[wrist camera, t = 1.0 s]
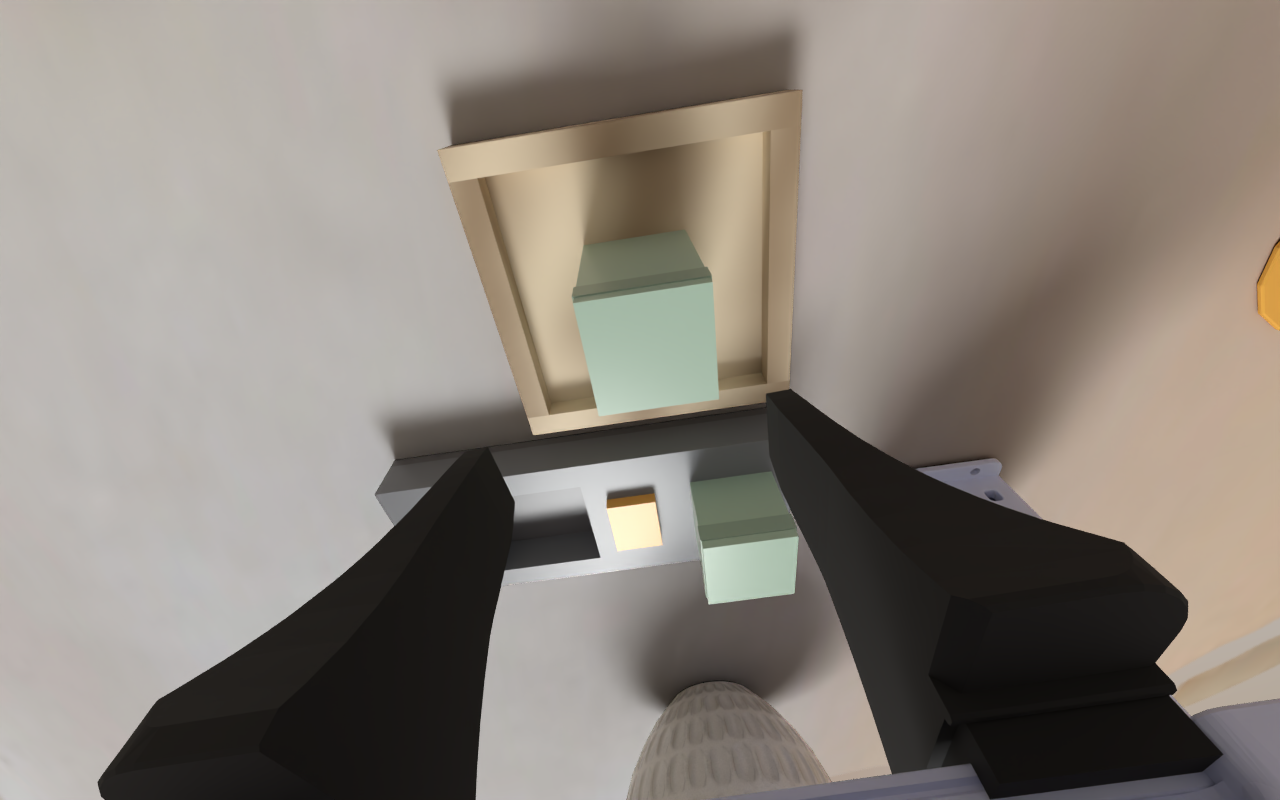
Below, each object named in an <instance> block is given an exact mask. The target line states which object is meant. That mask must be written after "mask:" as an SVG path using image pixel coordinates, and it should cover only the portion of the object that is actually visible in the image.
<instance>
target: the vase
mask: <svg viewBox="0 0 1280 800" xmlns="http://www.w3.org/2000/svg"><path fill="white" fill-rule="evenodd" d="M830 782H832V781H831V780H830V778H829V776H828V775H827V773H826V772H825V770H824V768H823V767H822V765H821V763H820V762H819V760H818V759H817V757H816V755H815V754H814V752H813V750H812V749H811V748H810V747H809V746H808V744H807V743H806V742H805V741H804V740H803V738H802V737H801V736H800V735H799V734H798V733H797V731H796V730H795V729H794V728H793V727H792V725H790V724H789V723H788V722H787V721H786V720H785V719H784V718H783V717H782V716H781V715H780V714H779V713H778V712H777V711H776V710H775V709H774V708H773V707H772V706H771V705H769V704H768V703H767V702H765V701H764V700H763V699H761V698H760V697H759V696H757V695H756V694H755V693H753V692H752V691H750V690H749V689H747V688H746V687H744V686H742V685H740V684H737V683H733V682H724V681H714V682H706V683H701V684H697V685H694V686H691V687H689V688H687V689H685V690H683V691H682V692H680V693H679V694H678V695H677V696H676V697H675V698H674V699H673V701H672V702H671V703H670V704H669V706H668V707H667V708H666V710H665V711H664V712H663V714H662V715H661V717H660V718H659V719H658V721H657V722H656V724H655V726H654V728H653V730H652V731H651V733H650V735H649V737H648V739H647V741H646V743H645V745H644V747H643V750H642V752H641V755H640V757H639V760H638V762H637V765H636V767H635V769H634V772H633V774H632V778H631V783H630V787H629V791H628V795H627V799H626V800H704V799H712V798H719V797H727V796H734V795H742V794H749V793H756V792H764V791H771V790H779V789H786V788H793V787H801V786H808V785H816V784H823V783H830Z"/></svg>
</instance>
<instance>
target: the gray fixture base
mask: <svg viewBox="0 0 1280 800" xmlns="http://www.w3.org/2000/svg"><path fill="white" fill-rule="evenodd" d="M488 448H489V450H490V452H491V454H492V456H493V458H494V460H495V462H496V464H497V466H498V468H499V470H500V472H501V474H502V476H503V478H504V480H505V482H506V484H507V486H508V489H509V491H510V493H511V495H512V497H513V499H514V501H515V511H514V524H513V533H512V540H511V545H510V549H509V554H508V558H507V563H506V567H505V571H504V576H503V580H502V584H501V586H506V585H514V584H522V583H529V582H537V581H544V580H552V579H560V578H567V577H575V576H582V575H590V574H598V573H605V572H613V571H620V570H628V569H636V568H643V567H651V566H659V565H666V564H674V563H681V562H689V561H697V560H700V562H701V567H702V575H703V584H704V589H705V595H706V598H707V599H708V605H710V604H718V603H725V602H733V601H741V600H749V599H757V598H764V597H772V596H780V595H788V594H794V593H795V580H796V566H797V552H798V538H799V536H798V534H797V527H796V525H795V523H794V520H793V518H792V515H791V514H789V513H790V507H789V505H788V503H787V501H786V499H785V497H784V495H783V493H782V491H781V488H780V485H779V483H778V480H777V477H776V474H775V471H774V468H773V465H772V462H771V459H770V456H769V442H768V424H767V408H760V409H753V410H746V411H739V412H732V413H725V414H718V415H711V416H704V417H697V418H690V419H683V420H676V421H669V422H662V423H655V424H648V425H641V426H634V427H627V428H620V429H613V430H606V431H598V432H591V433H584V434H577V435H570V436H563V437H556V438H549V439H542V440H535V441H528V442H521V443H514V444H507V445H500V446H493V447H488ZM472 450H474V449H472ZM465 451H469V450H465ZM465 451H458V452H451V453H444V454H437V455H430V456H423V457H416V458H408V459H401V460H395V461H394V463H393V464H392V466H391V468H390V469H389V471H388V473H387V475H386V476H385V478H384V480H383V481H382V483H381V485H380V486H379V488H378V490H377V492H376V493H375V496H376V498H377V500H378V501H379V503H380V504H381V506H382V507H383V509H384V511H385V512H386V514H387V515H388V517H389V519H390V520H391V522H392V523H393V525H394V526H395V525H396V524H397V523H398V522H399V521H400V520H401V519H402V518H403V517H404V516H405V515H406V514H407V513H408V512H409V511H410V510H411V509H412V508H413V507H414V506H415V505H416V504H417V502H418V501H419V500H420V499H421V498H422V497H423V496H424V495H425V494H426V493H427V492H428V491H429V489H430V488H431V487H432V486H433V485H434V484H435V483H436V482H437V481H438V480H439V478H440V477H441V476H442V475H443V474H444V473H445V472H446V471H447V470H448V469H449V468H450V466H451V465H452V464H453V463H454V462H455V461H456V460H457V459H458V458H459V457H460V456H461V455H462V454H463V453H464V452H465Z"/></svg>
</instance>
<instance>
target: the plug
mask: <svg viewBox="0 0 1280 800" xmlns="http://www.w3.org/2000/svg"><path fill="white" fill-rule="evenodd" d="M572 301H573V307H574V311H575V315H576V320H577V324H578V328H579V332H580V337H581V341H582V345H583V350H584V354H585V358H586V363H587V367H588V371H589V376H590V380H591V384H592V389H593V393H594V397H595V402H596V406H597V410H598V415H599V416H605V415H612V414H619V413H626V412H633V411H640V410H647V409H654V408H661V407H668V406H675V405H682V404H689V403H696V402H703V401H710V400H717V399H719V388H718V369H717V351H716V333H715V315H714V296H713V282H712V275H711V273H710V271H709V269H708V267H705V266H704V264H703V263H702V261H701V259H700V257H699V255H698V253H697V251H696V249H695V247H694V245H693V244H692V242H691V240H690V238H689V236H688V234H687V232H686V230H678V231H672V232H665V233H659V234H653V235H646V236H640V237H633V238H627V239H621V240H614V241H608V242H601V243H595V244H589V245H583V250H582V256H581V261H580V267H579V272H578V277H577V283H576V287H573V292H572Z"/></svg>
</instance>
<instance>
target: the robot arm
mask: <svg viewBox="0 0 1280 800" xmlns="http://www.w3.org/2000/svg"><path fill="white" fill-rule="evenodd" d="M766 407H767V424H768V442H769V456H770V459H771V462H772V465H773V468H774V471H775V474H776V477H777V480H778V483H779V485H780V488H781V491H782V493H783V495H784V497H785V499H786V501H787V503H788V505H789V507H790V509H791V511H792V513H793V516H794V518H795V520H796V522H797V524H798V526H799V528H800V530H801V532H802V534H803V536H804V538H805V540H806V542H807V544H808V546H809V548H810V550H811V552H812V554H813V556H814V558H815V560H816V562H817V564H818V566H819V568H820V571H821V573H822V575H823V577H824V580H825V582H826V585H827V587H828V590H829V593H830V595H831V598H832V601H833V603H834V606H835V609H836V611H837V614H838V617H839V619H840V622H841V625H842V628H843V630H844V633H845V636H846V639H847V642H848V644H849V647H850V650H851V653H852V655H853V658H854V661H855V664H856V667H857V670H858V673H859V676H860V678H861V681H862V684H863V687H864V690H865V693H866V696H867V699H868V702H869V705H870V708H871V711H872V714H873V717H874V720H875V723H876V726H877V729H878V732H879V735H880V738H881V741H882V744H883V747H884V751H885V754H886V757H887V760H888V763H889V766H890V769H891V772H892V774H890V775H882V776H875V777H867V778H860V779H853V780H845V781H838V782H830V783H823V784H816V785H808V786H801V787H793V788H786V789H779V790H771V791H764V792H756V793H749V794H742V795H734V796H727V797H719V798H712V799H704V800H1280V699H1273V700H1266V701H1258V702H1251V703H1244V704H1237V705H1230V706H1222V707H1217V708H1213V709H1208V710H1205V711H1202V712H1200V713H1197V714H1195V715H1193V716H1191V715H1190V714H1189V713H1188V712H1187V711H1186V710H1185V709H1184V708H1183V707H1182V706H1181V705H1180V704H1179V703H1178V702H1177V700H1176V699H1175V698H1174V697H1173V696H1172V695H1173V694H1174V693H1175V692H1176V691H1177V689H1176V686H1175V684H1174V682H1173V681H1172V680H1171V679H1170V678H1169V677H1168V676H1167V675H1166V674H1165V673H1164V672H1163V671H1162V670H1161V669H1160V668H1159V667H1158V666H1157V665H1156V663H1155V662H1156V661H1157V660H1158V658H1159V657H1160V656H1161V655H1162V654H1163V652H1164V651H1165V650H1166V649H1167V647H1168V646H1169V645H1170V644H1171V642H1172V641H1173V640H1174V639H1175V637H1176V636H1177V635H1178V634H1179V632H1180V631H1181V629H1182V628H1183V626H1184V624H1185V622H1186V621H1187V618H1188V600H1187V599H1186V598H1185V597H1184V595H1183V594H1182V593H1181V592H1180V591H1179V590H1178V589H1177V588H1176V587H1175V586H1173V585H1172V584H1171V583H1170V582H1169V581H1168V580H1167V579H1166V578H1164V577H1163V576H1162V575H1161V574H1160V573H1159V572H1158V571H1156V570H1155V569H1154V568H1153V567H1152V566H1151V565H1150V564H1149V563H1147V562H1146V561H1145V560H1144V559H1143V558H1142V557H1140V556H1139V555H1138V554H1137V553H1136V552H1135V551H1133V550H1132V549H1131V548H1130V547H1128V546H1127V545H1126V544H1125V543H1123V542H1120V541H1116V540H1113V539H1109V538H1105V537H1102V536H1098V535H1095V534H1091V533H1088V532H1084V531H1081V530H1077V529H1073V528H1070V527H1066V526H1063V525H1059V524H1056V523H1052V522H1049V521H1046V520H1043V519H1042V518H1041V517H1040V516H1039V515H1038V514H1037V513H1036V512H1035V511H1034V510H1033V509H1032V508H1031V507H1030V506H1029V505H1028V504H1027V503H1026V502H1025V501H1024V500H1023V499H1022V498H1021V497H1020V496H1019V495H1018V494H1017V493H1016V492H1015V491H1014V490H1013V489H1012V488H1011V487H1010V486H1009V485H1008V484H1007V483H1006V482H1005V481H1004V480H1003V479H1002V478H1001V477H1000V476H999V474H1000V471H1001V468H1002V464H1001V463H1000V462H999V461H998V460H997V459H995V458H991V459H984V460H976V461H969V462H962V463H954V464H947V465H939V466H932V467H925V468H917V469H914V468H912V467H910V466H908V465H906V464H904V463H902V462H900V461H898V460H896V459H894V458H893V457H891V456H889V455H887V454H885V453H884V452H882V451H880V450H879V449H877V448H875V447H873V446H872V445H870V444H868V443H867V442H865V441H863V440H862V439H860V438H859V437H857V436H855V435H854V434H853V433H851V432H850V431H848V430H847V429H845V428H844V427H842V426H841V425H839V424H838V423H836V422H835V421H833V420H832V419H831V418H829V417H828V416H826V415H825V414H824V413H822V412H821V411H820V410H818V409H817V408H815V407H814V406H813V405H811V404H810V403H809V402H807V401H806V400H805V399H803V398H802V397H801V396H799V395H798V394H797V393H795V392H794V391H792V390H791V389H787V390H782V391H777V392H772V393H767V394H766ZM514 511H515V501H514V499H513V497H512V495H511V493H510V491H509V489H508V486H507V484H506V482H505V480H504V478H503V476H502V474H501V472H500V470H499V468H498V466H497V464H496V462H495V460H494V458H493V456H492V454H491V452H490V450H489V448H488V447H485V448H479V449H474V450H469V451H465V452H464V453H463V454H462V455H461V456H460V457H459V458H458V459H457V460H456V461H455V462H454V463H453V464H452V465H451V466H450V468H449V469H448V470H447V471H446V472H445V473H444V474H443V475H442V476H441V477H440V478H439V480H438V481H437V482H436V483H435V484H434V485H433V486H432V487H431V488H430V489H429V491H428V492H427V493H426V494H425V495H424V496H423V497H422V498H421V499H420V500H419V501H418V502H417V504H416V505H415V506H414V507H413V508H412V509H411V510H410V511H409V512H408V513H407V514H406V515H405V516H404V517H403V518H402V519H401V520H400V521H399V522H398V523H397V524H396V525H395V526H394V527H393V528H392V529H391V530H390V531H389V532H388V533H387V534H386V535H385V536H384V537H383V538H382V539H381V540H380V541H379V542H378V543H377V544H376V545H375V546H374V547H373V548H372V549H371V550H370V551H368V552H367V553H366V554H365V555H364V556H363V557H362V558H361V559H360V560H358V561H357V562H356V563H355V564H354V565H353V566H352V567H350V568H349V569H348V570H347V571H346V572H345V573H343V574H342V575H341V576H340V577H339V578H337V579H336V580H335V581H334V582H333V583H331V584H330V585H329V586H327V587H326V588H325V589H324V590H322V591H321V592H320V593H318V594H317V595H316V596H315V597H313V598H312V599H311V600H309V601H308V602H307V603H305V604H304V605H303V606H302V607H300V608H299V609H298V610H296V611H295V612H294V613H292V614H291V615H290V616H288V617H287V618H286V619H284V620H283V621H281V622H280V623H278V624H277V625H276V626H274V627H273V628H271V629H270V630H269V631H267V632H266V633H264V634H263V635H261V636H260V637H258V638H257V639H255V640H254V641H252V642H251V643H249V644H248V645H246V646H245V647H243V648H242V649H240V650H239V651H237V652H236V653H234V654H233V655H231V656H230V657H228V658H226V659H225V660H223V661H222V662H220V663H218V664H217V665H215V666H214V667H212V668H210V669H209V670H207V671H205V672H204V673H202V674H200V675H199V676H197V677H195V678H194V679H192V680H191V681H189V682H187V683H186V684H184V685H182V686H181V687H179V688H177V689H176V690H174V691H172V692H171V693H169V694H167V695H166V696H164V697H162V698H160V699H159V700H158V701H157V702H156V703H155V704H154V705H153V707H152V708H151V709H150V711H149V712H148V713H147V715H146V716H145V718H144V719H143V720H142V722H141V723H140V724H139V726H138V727H137V729H136V730H135V731H134V733H133V734H132V735H131V737H130V738H129V740H128V741H127V742H126V744H125V745H124V746H123V748H122V749H121V750H120V752H119V753H118V754H117V756H116V757H115V758H114V760H113V761H112V762H111V764H110V765H109V766H108V768H107V769H106V770H105V772H104V773H103V774H102V776H101V778H100V779H99V781H98V787H99V791H100V794H101V797H102V798H103V799H105V800H476V778H477V761H478V747H479V733H480V719H481V709H482V699H483V690H484V680H485V671H486V663H487V655H488V648H489V640H490V634H491V628H492V623H493V618H494V614H495V610H496V605H497V601H498V597H499V593H500V588H501V584H502V580H503V576H504V571H505V567H506V563H507V558H508V554H509V549H510V545H511V540H512V533H513V524H514Z"/></svg>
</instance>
